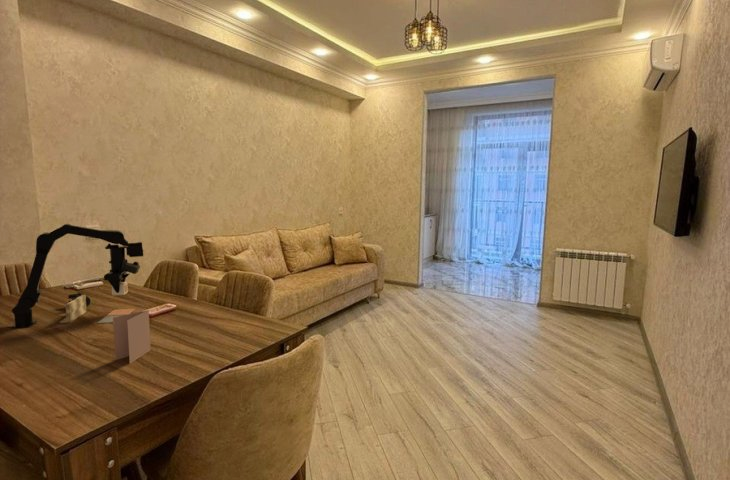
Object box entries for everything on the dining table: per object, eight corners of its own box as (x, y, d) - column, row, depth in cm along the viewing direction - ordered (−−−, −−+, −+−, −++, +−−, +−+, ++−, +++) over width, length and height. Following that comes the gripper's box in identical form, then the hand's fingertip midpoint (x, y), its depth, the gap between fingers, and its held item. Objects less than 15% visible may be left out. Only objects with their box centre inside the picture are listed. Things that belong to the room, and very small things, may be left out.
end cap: (91, 308, 192) (90, 294, 191) (73, 311, 187) (72, 297, 186) (86, 304, 198) (85, 290, 198) (68, 306, 193) (67, 293, 193)
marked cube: (124, 294, 182) (123, 283, 182) (112, 295, 181) (111, 284, 180) (128, 292, 187) (127, 281, 187) (115, 292, 186) (115, 281, 185)
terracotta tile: (128, 315, 182) (128, 314, 182) (106, 316, 180) (106, 315, 180) (135, 309, 191) (134, 308, 191) (114, 310, 189) (113, 309, 189)
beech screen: (70, 322, 171) (69, 304, 170) (59, 323, 170) (58, 304, 169) (86, 311, 187) (85, 294, 186) (76, 311, 186) (75, 295, 185)
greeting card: (149, 349, 145) (147, 309, 143) (158, 355, 140) (156, 313, 138) (114, 359, 136) (111, 316, 134) (122, 365, 131) (120, 321, 129)
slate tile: (121, 322, 172) (121, 321, 172) (97, 323, 170) (97, 322, 170) (128, 315, 181) (128, 315, 181) (105, 317, 179) (105, 316, 179)
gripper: (130, 261, 175) (132, 295, 177) (143, 254, 193) (144, 285, 195) (102, 261, 172) (104, 296, 174) (117, 254, 190) (119, 286, 192)
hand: (119, 291), depth 184 cm, fingers closed on marked cube, 5 cm apart
